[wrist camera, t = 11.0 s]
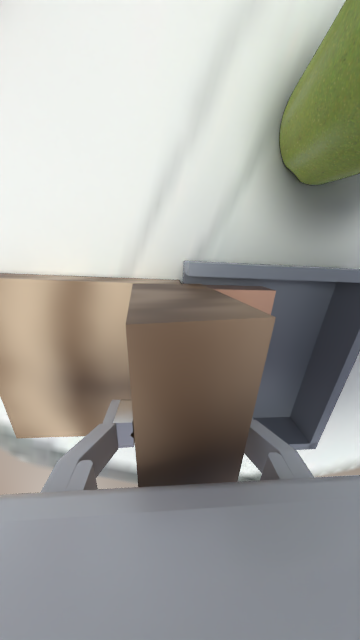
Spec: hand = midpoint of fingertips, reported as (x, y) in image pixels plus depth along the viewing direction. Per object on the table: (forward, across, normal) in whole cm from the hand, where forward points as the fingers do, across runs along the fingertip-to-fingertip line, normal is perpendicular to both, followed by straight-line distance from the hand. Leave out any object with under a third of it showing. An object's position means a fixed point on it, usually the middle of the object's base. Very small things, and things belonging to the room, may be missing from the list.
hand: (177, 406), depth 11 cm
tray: (+6, -7, 0) cm, 10 cm away
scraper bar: (+3, +1, 0) cm, 3 cm away
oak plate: (+6, +7, 0) cm, 9 cm away
